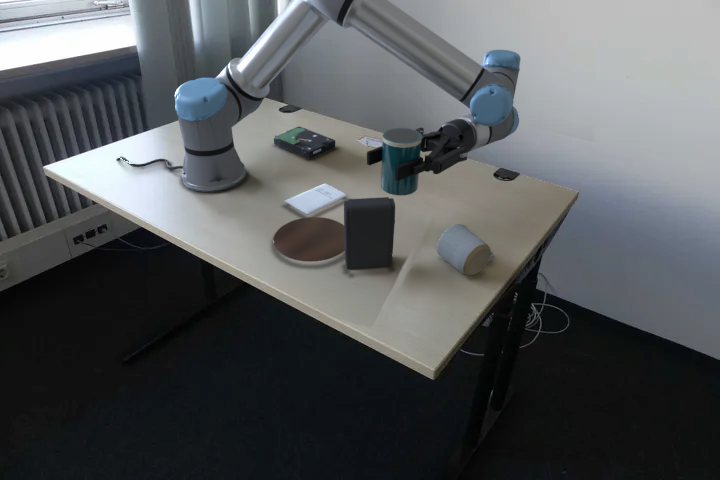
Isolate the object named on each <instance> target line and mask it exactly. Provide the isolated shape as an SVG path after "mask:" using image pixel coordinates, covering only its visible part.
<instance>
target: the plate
mask: <svg viewBox="0 0 720 480" xmlns="http://www.w3.org/2000/svg"><path fill="white" fill-rule="evenodd" d="M272 242H273V246H274V248H275V250H277V252H278V253H279V254H281V255H282V256H284V257H285V258H288V259H291V260H294V261H299V262H320V261H326V260H329V259H332V258H335V257H337V256H339V255H341V254H342V253H345V246H344V223H341V222H340V221H338V220H335V219H332V218H327V217H321V216H309V217H302V218H297V219H294V220H291V221H289V222H287V223H285V224H283V225H282V226H280V227H279V228H278V229H277V231H276V232H275V233H274V235H273V238H272Z"/></svg>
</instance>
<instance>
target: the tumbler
mask: <svg viewBox="0 0 720 480" xmlns="http://www.w3.org/2000/svg"><path fill="white" fill-rule="evenodd" d="M381 139H382V140H381V141H382V142H381V143H382V144H381V146H382V161H381V175H380V176H381V178H380V189H382V190H383V192H384V193H386V194H388V195H392V196H409V195H412V194H414V193H415V192H417V191H418V188H419V178H420V173H419V174H415V175H411V176H409V177H406V178H404V179H401V180H399V181H397V180H395V167H396V166H398V165H401V164H403V163H406V162H409V161H411V160H414V159H416V158H419V157H421V152H422V151H421V141H422V135H421V134H420V133H419V132H418V131H416V129H413V128H408V127H394V128H389V129H387V130H385V131H383V133H382V135H381Z"/></svg>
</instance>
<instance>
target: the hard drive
mask: <svg viewBox="0 0 720 480" xmlns="http://www.w3.org/2000/svg"><path fill="white" fill-rule="evenodd" d="M347 196H348V194H347V193H345V192H343V191H341V190H339V189H338V188H336V187H334V186H331V185H330V184H328V183H326V182H325V183H323V184H320V185H318V186H315V187H313V188H311V189H309V190H306V191H303V192H302V193H299V194H297V195H295V196H292V197H290V198H288V199H286V200H284V201H283V202H285V203H286V204H287V205H289V206H291V207H292V208H294V209H296V210H298V211H300V212H301V213H303V214H304V215H306V216H308V215H310V214H312V213H314V212H316V211H318V210H321V209H322V208H325V207H326V206H328V205H331V204H333V203H335V202H337V201H339V200H341V199H343V198H345V197H347Z"/></svg>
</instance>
